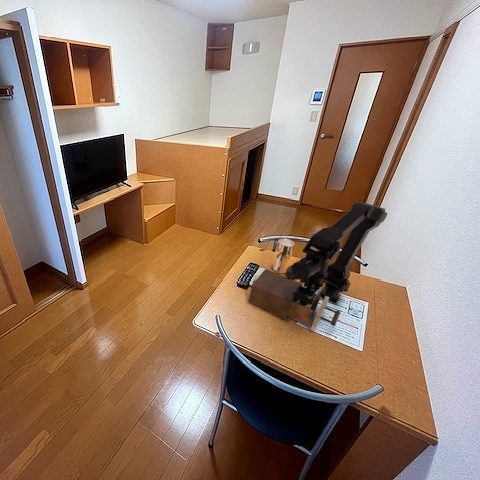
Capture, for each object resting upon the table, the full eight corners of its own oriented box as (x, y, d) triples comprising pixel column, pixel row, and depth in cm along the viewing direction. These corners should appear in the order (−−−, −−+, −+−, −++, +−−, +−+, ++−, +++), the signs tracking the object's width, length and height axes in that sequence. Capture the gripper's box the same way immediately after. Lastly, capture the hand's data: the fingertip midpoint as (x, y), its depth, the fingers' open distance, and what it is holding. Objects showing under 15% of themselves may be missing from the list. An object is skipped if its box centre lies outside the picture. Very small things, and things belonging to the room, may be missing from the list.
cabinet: (297, 302, 104) (303, 283, 99) (285, 320, 96) (291, 301, 91) (261, 286, 112) (265, 268, 107) (248, 302, 104) (251, 284, 100)
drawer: (337, 319, 95) (344, 303, 91) (329, 339, 87) (336, 323, 83) (286, 296, 105) (290, 281, 101) (275, 312, 98) (279, 297, 94)
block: (299, 299, 98) (302, 290, 96) (312, 304, 95) (315, 295, 93) (295, 305, 95) (298, 296, 93) (308, 311, 93) (311, 302, 90)
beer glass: (289, 274, 118) (296, 247, 111) (272, 273, 120) (279, 245, 112) (285, 265, 124) (293, 238, 116) (270, 264, 125) (276, 237, 118)
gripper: (300, 247, 97) (291, 279, 105) (281, 271, 85) (272, 305, 93) (334, 258, 90) (321, 291, 98) (318, 285, 79) (305, 321, 87)
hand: (305, 301), depth 94 cm, fingers open, 5 cm apart
